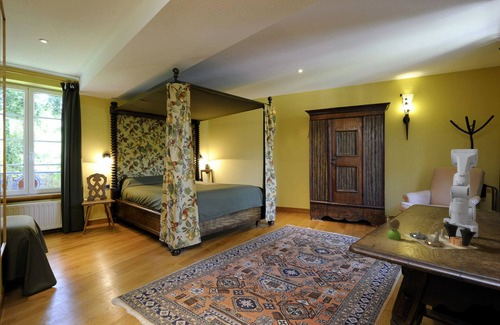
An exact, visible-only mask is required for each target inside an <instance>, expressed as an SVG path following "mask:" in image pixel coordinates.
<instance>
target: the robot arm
mask: <svg viewBox="0 0 500 325" xmlns="http://www.w3.org/2000/svg"><path fill="white" fill-rule="evenodd" d="M450 153H451V154H450V159H451V164H452V166H453V167H455V168H457V172H456V173H454V175H453V180H452V185H451V186H450V193H449V195H450V203H449V206H448V207H449V209H448V214H449V217H450V218H449V217H444V218H443V223H444V224H443V227H444V228H445V230H446V233H447V236H448V237H449V240H450V237H460V238H462V245H463V246H469V245H470V243H471V241H472V239H473V238H478V237H479V224H478V222H476V218H477V209H476V208H477V207H476V206H477V205H476V204H475V203H474V202H472V201H471V200H470V198H471V194H472V193H471V192H472V189H471V185H470V184H471V175H470V174H471V170H472V169H473V168H474V167H477V166H478V161H479V160H478V159H479V149H478V148H475V149H474V148H473V149H472V148H470V149H466V148H463V149H461V148H460V149H458V148H456V149H455V148H453V149H451V151H450Z"/></svg>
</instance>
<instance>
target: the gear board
mask: <svg viewBox="0 0 500 325" xmlns="http://www.w3.org/2000/svg"><path fill="white" fill-rule="evenodd" d="M445 230H446V229H444V228H443V229H442V228H440V231H439V232H438V231H435V232H434V234H425V235H426V236H428V239H427V240H430V239H432V241H434V243H436V240H438V241H440V242H443V243H445V247H444V248H442V247H439V248H437V247H432V246H430V245H426V243H424V240H420V239H415V238H412V237H411V236H410V234H404V236H406V237H408V238H409V239H412V240H414V241H415V242H418V243H419V244H422V245H423V246H426V247H427V248H430V249H432V250H458V249H460V250H464V249H465V250H467V249H469V250H473V249H475V250H478V249H479V248H478V247H475V246H473V245H470V244H469V246H466V247H463V246H457V245H453V244H451V243H450V240H449V236H448V235H446V234H445V233H446V231H445ZM416 233H417V235H420V233H421V230H417V231H416Z"/></svg>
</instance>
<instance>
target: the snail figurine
mask: <svg viewBox="0 0 500 325" xmlns="http://www.w3.org/2000/svg"><path fill="white" fill-rule="evenodd" d="M389 217H390V216H389V215H386V222H387V227H388V228H389V229H390V230H388V231H387V238H388V239H390V240H393V241H399V240H401V237H402V236H401V233H400V231H399V229H400V225H401V223H400V221H399V220H398V219H395V218H394V219H392V220H391V219H390V218H389Z"/></svg>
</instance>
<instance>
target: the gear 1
mask: <svg viewBox="0 0 500 325" xmlns="http://www.w3.org/2000/svg"><path fill="white" fill-rule="evenodd" d="M409 235H410V236H411V237H412V238H415V239H420V240H426V239H428V236H426V235H427V234H423V233H421V232H420V235H417V232H410V233H409ZM412 238H411V239H412Z"/></svg>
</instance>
